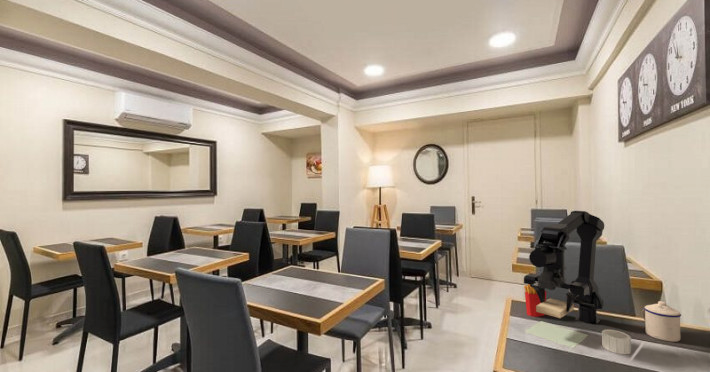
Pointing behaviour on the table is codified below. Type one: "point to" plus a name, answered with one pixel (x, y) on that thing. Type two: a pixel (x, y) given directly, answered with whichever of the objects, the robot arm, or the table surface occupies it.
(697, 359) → the table surface
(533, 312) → the french fries
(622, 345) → the bowl
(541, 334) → the mat
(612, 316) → the table surface
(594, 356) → the table surface
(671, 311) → the teacup with lid
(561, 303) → the beige flat block
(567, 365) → the table surface
